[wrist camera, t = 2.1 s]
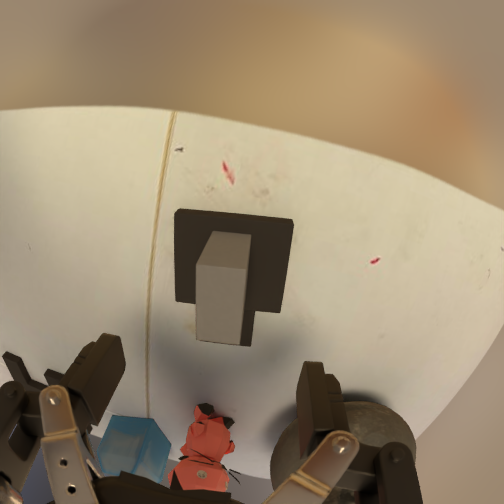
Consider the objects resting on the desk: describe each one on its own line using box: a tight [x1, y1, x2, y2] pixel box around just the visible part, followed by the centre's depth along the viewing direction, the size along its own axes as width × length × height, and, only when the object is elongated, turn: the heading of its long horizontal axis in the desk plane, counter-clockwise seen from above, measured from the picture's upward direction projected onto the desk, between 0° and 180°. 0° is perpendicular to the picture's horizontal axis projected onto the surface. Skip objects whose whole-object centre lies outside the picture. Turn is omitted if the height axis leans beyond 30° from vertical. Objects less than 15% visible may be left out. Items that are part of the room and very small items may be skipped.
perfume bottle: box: [97, 415, 171, 484], centre depth 27 cm, size 6×6×12 cm
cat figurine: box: [168, 403, 240, 492], centre depth 24 cm, size 7×7×12 cm
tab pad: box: [174, 209, 294, 347], centre depth 20 cm, size 8×11×6 cm
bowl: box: [270, 401, 416, 504], centre depth 25 cm, size 15×15×10 cm
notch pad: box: [2, 352, 92, 434], centre depth 31 cm, size 12×12×1 cm
